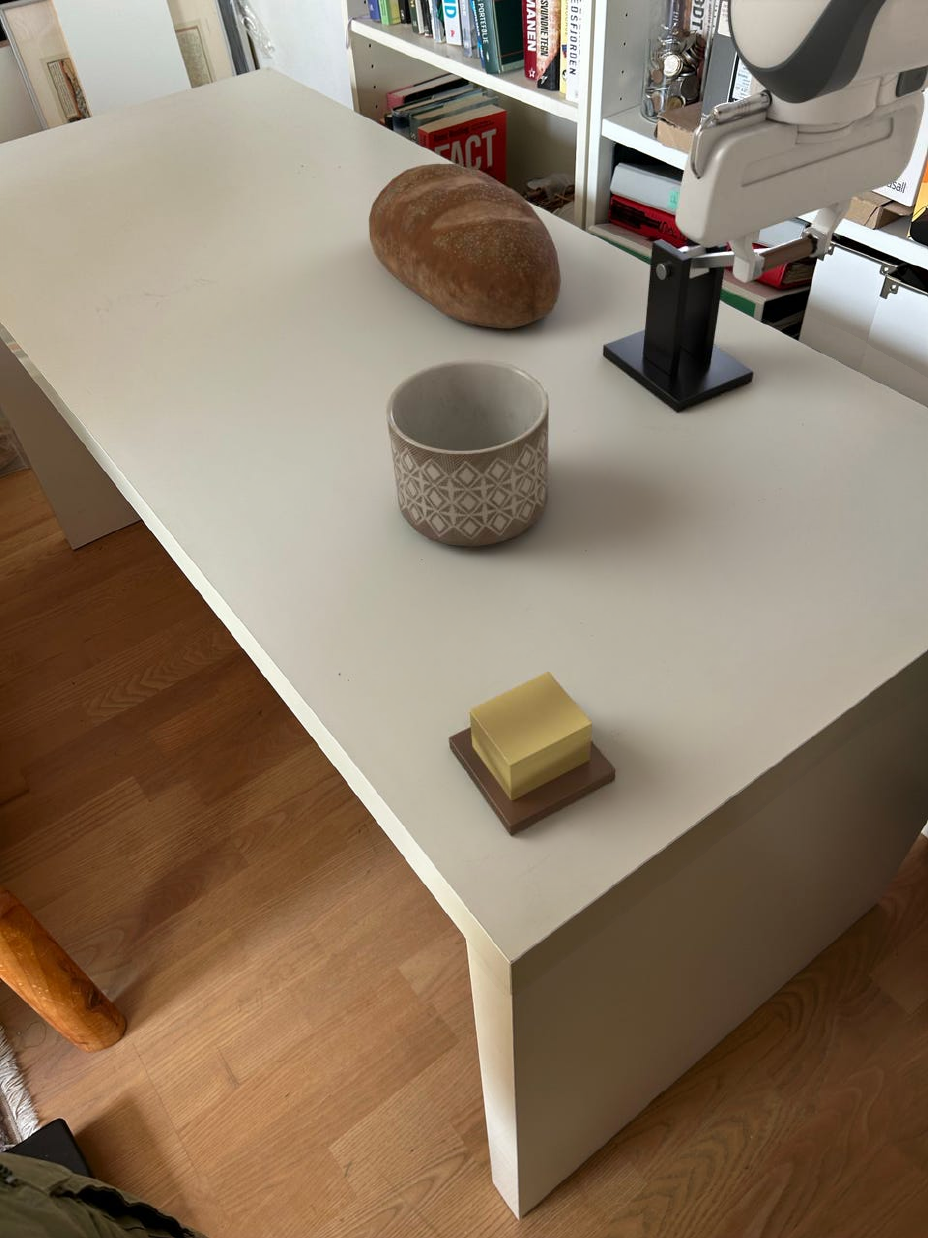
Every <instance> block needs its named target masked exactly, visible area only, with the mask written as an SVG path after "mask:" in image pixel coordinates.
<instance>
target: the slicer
mask: <svg viewBox="0 0 928 1238" xmlns="http://www.w3.org/2000/svg"><path fill="white" fill-rule="evenodd" d="M695 245H700V244H698V243H696V242H694V241H692V240H691V239H689V238H688V237H686V245H685V246H695ZM705 248H706V254H711V253H722V252H728V249H729V244H727V242H725V243H722V244H720V245H717V246H714V247H710V248H707V247H705ZM678 249H679V248H676V247H675V246H673V245H672V244H670V243H668V242H667V241H665V240H663V239H662V238H660V239H658V240H655V241H652V244H651V254H650V255H651V257H650V266H649V278H648V279H649V280H648V289H647V290H648V291H647V301H646V312H645V313H646V314H645V325H644V329H643V330H640V331H637V332H634V333H632V334H629V335H627V336H624V337H622V338H619V339H616V340H614V341H611V342H608V343H605V344H603V347H602V356H603V357H604V358H605V359H607V361H609V362H610V363H612V364H613V365H614V366H615V367H616V368H618V369H620V370H621V371H622V372H623V373H625V374H626V375H627V376H629V378H631V379H632V380H634V381H635V382H636V383H638V384H639V385H641V386H642V387H643V388H644V389H645V390H647V392H649V393H651V394H652V395H653V396H655V397H656V398H657V399H658V400H660V401H661V402H662V403H664V404H665V405H667V406H668V407H669V408H670V409H671V410H672V411H674V412H675V413H681V412H682V411H685V410H688V409H690V408H692V407H694V406H697V405H700V404H702V403H704V402H707V401H709V400H711V399H714V398H716V397H719V396H721V395H723V394H726V393H728V392H731V391H733V390H736V389H739V388H741V387H743V386H745V385H748V384H750V383H753V379H754V378H753V377H754V372H755V371H754V370H752V369H751V368H749V367H748V366H746V365H745V364H743V363H742V362H740V361H739V360H737V359H736V358H735V357H733V356H732V355H730V354H728V353H727V352H725V351H724V350H723V349H721V347H718V346H717V345H716V344H715V338H716V329H717V323H718V317H719V310H720V305H721V303H720V302H721V297H722V289H723V288H722V287H723V284H724V277H725V268H726V267H715V268H709V272H708V273H705V274H702V275H699V276H696V277H694V278H691V279H689V278H690V269H691V261H692V258H691V257H690V256H688V255H686V254H685V253H683V252H681V251H680V250H678Z"/></svg>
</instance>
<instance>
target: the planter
mask: <svg viewBox="0 0 928 1238" xmlns="http://www.w3.org/2000/svg"><path fill="white" fill-rule="evenodd" d="M549 403H550V401H549V396H548V392H547V390H546V389H545V386H544V385H543V384H542V383H541V382H540V381H539V379H538V378H537V377H535V376H534V375H532V374H531V373H530V372H529V371H526V370H524V369H522V368H520V367H519V366H516V365H514V364H510V363H507V362H502V361H498V360H493V359H492V360H490V359H481V358H480V359H477V358H472V359H470V358H469V359H457V360H450V361H444V362H440V363H436V364H433V365H431V366H428V367H425V368H423V369H421V370H419V371H416V372H414V373H412V374H411V375H409V376H408V377H407V378H404V380H402V381H401V382H400V383H399V384H398V385H397V386H396V387H395V389H393V390H392V392H391V394H390V395H389V398H388V400H387V403H386V410H385V412H386V421H387V428H388V435H389V442H390V450H391V456H392V464H393V471H394V479H395V485H396V493H397V501H398V505H399V510H400V512H401V514H402V516H403V518H404V520H405V521H406V522H407V524H408V525H409V526H410V527H412V528H413V529H414V530H415V531H416V532H418V533H419V534H420V535H422V536H424V537H426V538H427V539H430V540H432V541H435V542H438V543H442V544H445V545H451V546H457V547H458V546H460V547H480V546H488V545H492V544H496V543H497V544H498V543H501V542H504V541H507V540H509V539H511V538H514V537H516V536H518V535H519V534H521V533H523V532H525V531H526V530H528V529H529V528H530V527H531V526H532V525H533V524H534V523H535V522H536V521H537V520H538V519H539V518H540V517H541V515H542V514H543V512H544V510H545V508H546V505H547V503H548V496H549V414H550V413H549V411H550V410H549V406H550V405H549Z"/></svg>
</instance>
